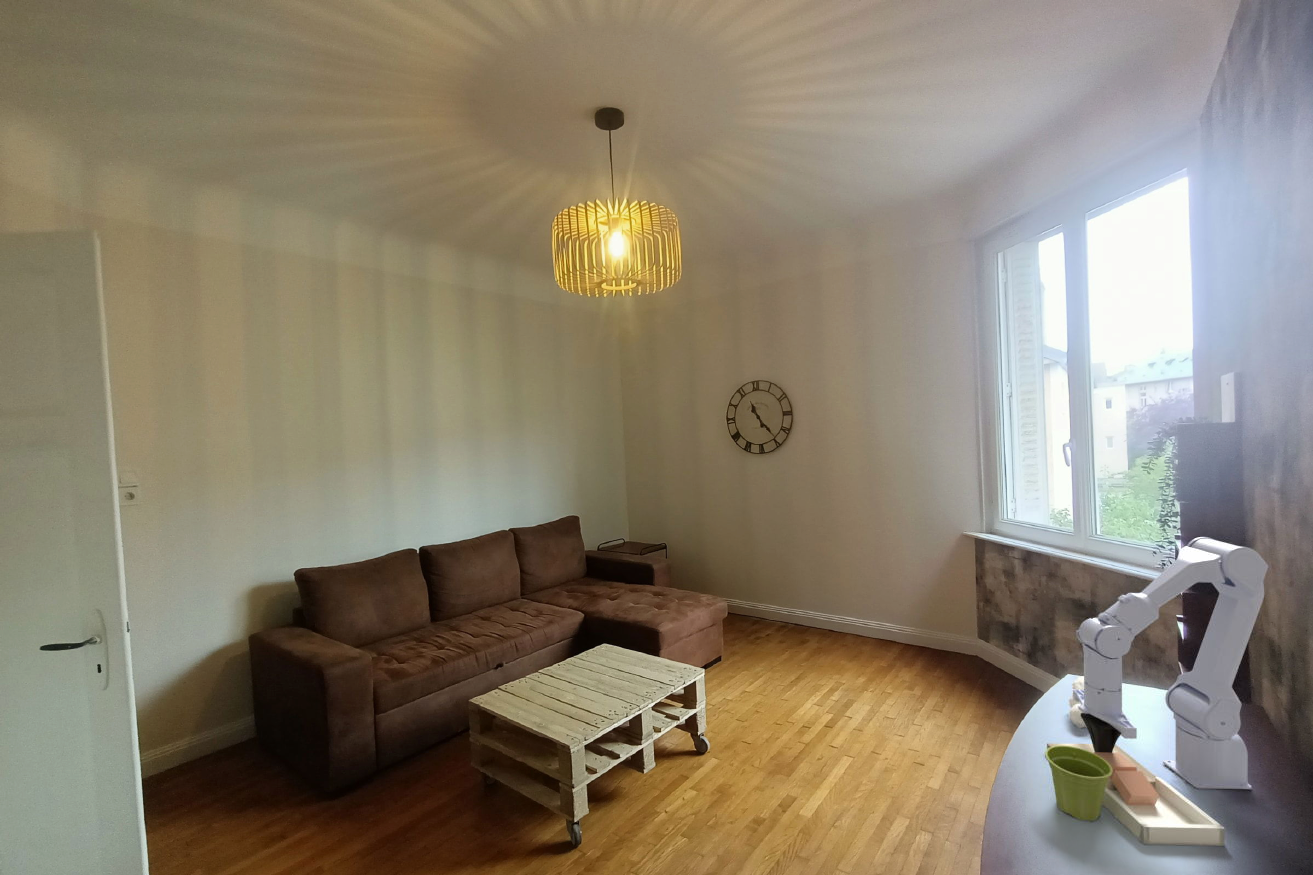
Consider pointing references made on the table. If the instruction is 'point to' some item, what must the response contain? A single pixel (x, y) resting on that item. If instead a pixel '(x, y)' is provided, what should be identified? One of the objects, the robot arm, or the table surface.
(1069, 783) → the plant pot
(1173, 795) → the tray
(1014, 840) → the table surface
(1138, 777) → the tile
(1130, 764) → the tile
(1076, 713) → the white figurine
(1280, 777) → the table surface
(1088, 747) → the thin cream square panel
